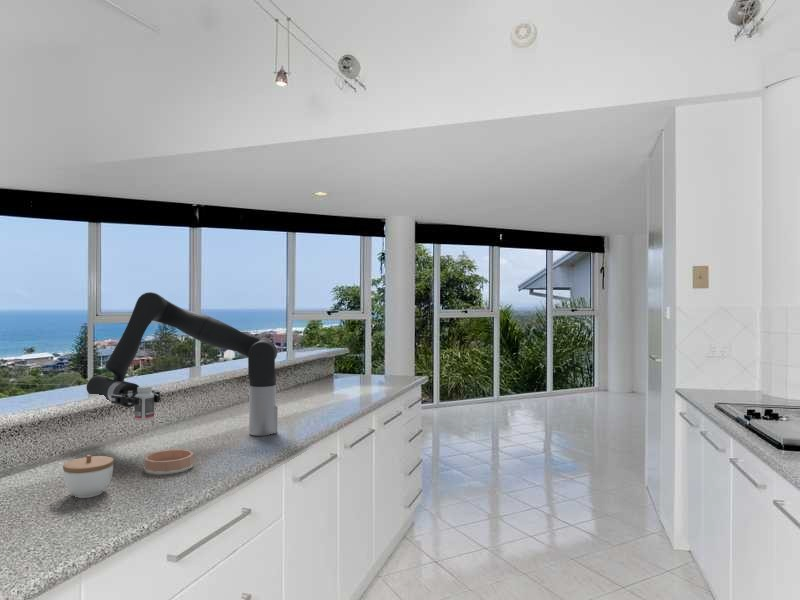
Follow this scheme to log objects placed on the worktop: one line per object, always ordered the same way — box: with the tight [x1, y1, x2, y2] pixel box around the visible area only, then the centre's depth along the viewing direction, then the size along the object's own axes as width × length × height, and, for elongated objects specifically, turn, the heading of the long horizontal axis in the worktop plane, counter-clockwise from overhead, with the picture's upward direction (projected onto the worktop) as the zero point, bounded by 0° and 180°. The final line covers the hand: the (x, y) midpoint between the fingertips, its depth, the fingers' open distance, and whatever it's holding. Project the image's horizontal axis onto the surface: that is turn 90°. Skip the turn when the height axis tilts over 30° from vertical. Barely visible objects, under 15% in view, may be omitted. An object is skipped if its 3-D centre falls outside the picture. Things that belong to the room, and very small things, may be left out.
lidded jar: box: [62, 454, 115, 499], centre depth 132 cm, size 11×11×9 cm
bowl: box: [143, 448, 195, 476], centre depth 153 cm, size 13×13×4 cm
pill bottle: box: [134, 385, 155, 422], centre depth 164 cm, size 5×5×10 cm
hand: (148, 400), depth 162 cm, fingers closed on pill bottle, 5 cm apart
